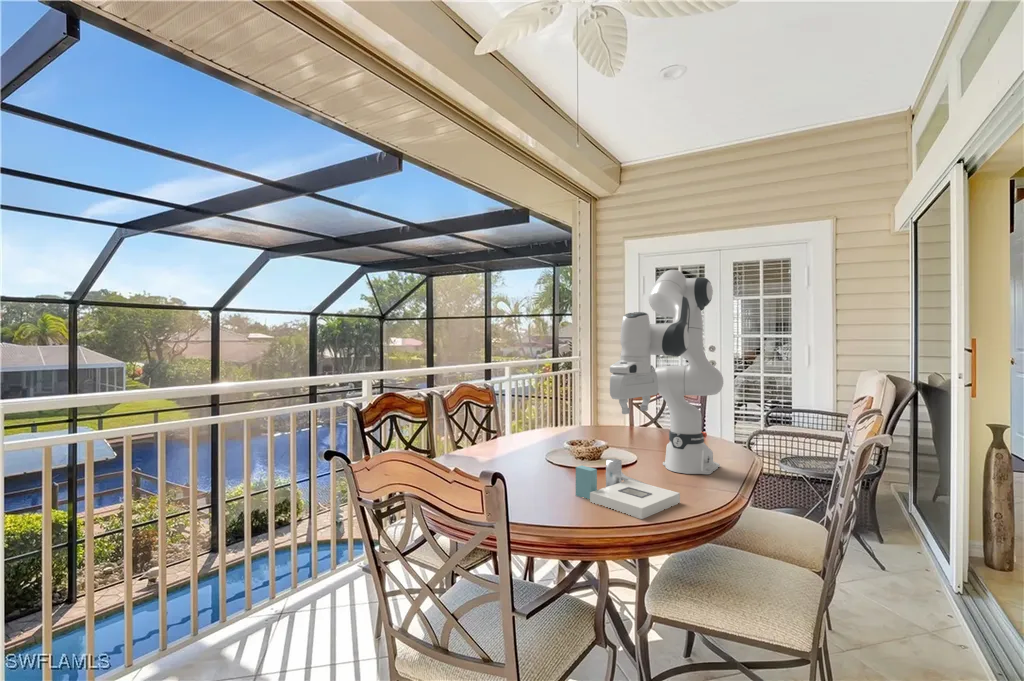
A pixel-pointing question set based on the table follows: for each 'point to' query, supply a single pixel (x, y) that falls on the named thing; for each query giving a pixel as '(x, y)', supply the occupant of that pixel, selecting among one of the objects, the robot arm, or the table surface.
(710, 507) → the table surface
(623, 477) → the adjustable wrench
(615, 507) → the socket plate
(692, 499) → the table surface
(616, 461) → the round peg
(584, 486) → the flat bar
